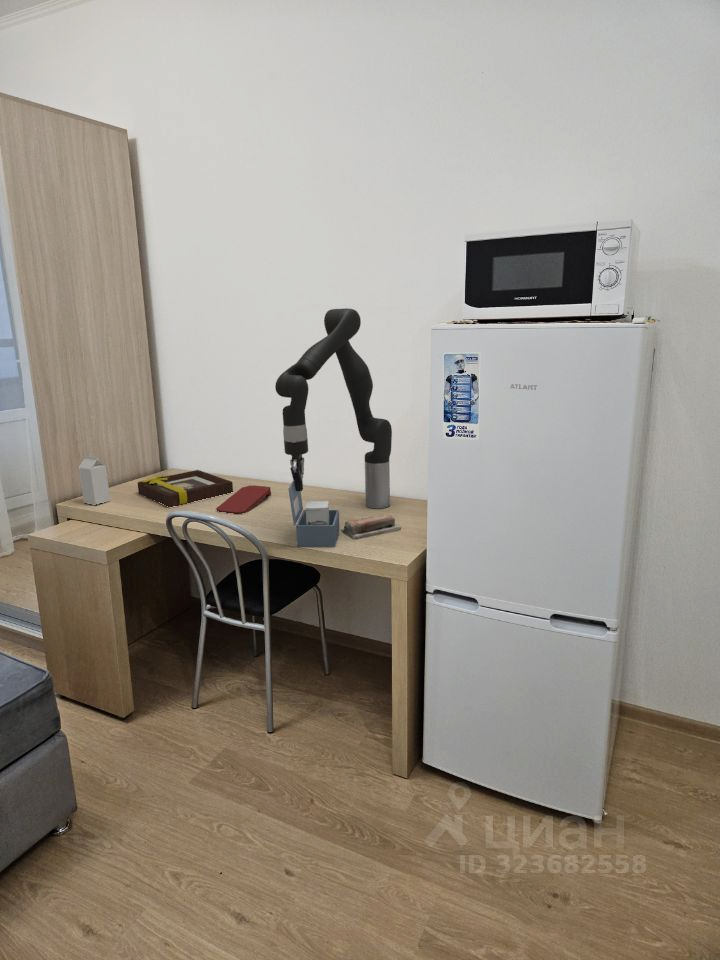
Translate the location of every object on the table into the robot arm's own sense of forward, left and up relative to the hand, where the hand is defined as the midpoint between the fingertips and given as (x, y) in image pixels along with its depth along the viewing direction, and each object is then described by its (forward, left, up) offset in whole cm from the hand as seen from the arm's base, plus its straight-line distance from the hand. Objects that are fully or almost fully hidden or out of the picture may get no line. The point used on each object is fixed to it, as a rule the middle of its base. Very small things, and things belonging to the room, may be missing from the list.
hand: (299, 490), depth 207 cm
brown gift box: (-51, -56, -17) cm, 78 cm away
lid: (+1, -1, -3) cm, 3 cm away
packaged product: (-6, +23, -17) cm, 29 cm away
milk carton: (-38, -88, -16) cm, 97 cm away
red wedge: (-36, -27, -17) cm, 48 cm away
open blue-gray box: (+1, +6, -16) cm, 17 cm away
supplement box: (+4, +6, -16) cm, 18 cm away
